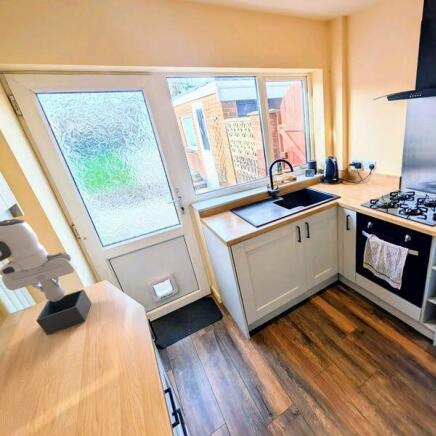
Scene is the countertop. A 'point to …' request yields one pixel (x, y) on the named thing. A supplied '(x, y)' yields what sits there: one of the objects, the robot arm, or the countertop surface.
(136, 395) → the countertop surface
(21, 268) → the robot arm
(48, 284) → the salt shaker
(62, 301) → the bin
